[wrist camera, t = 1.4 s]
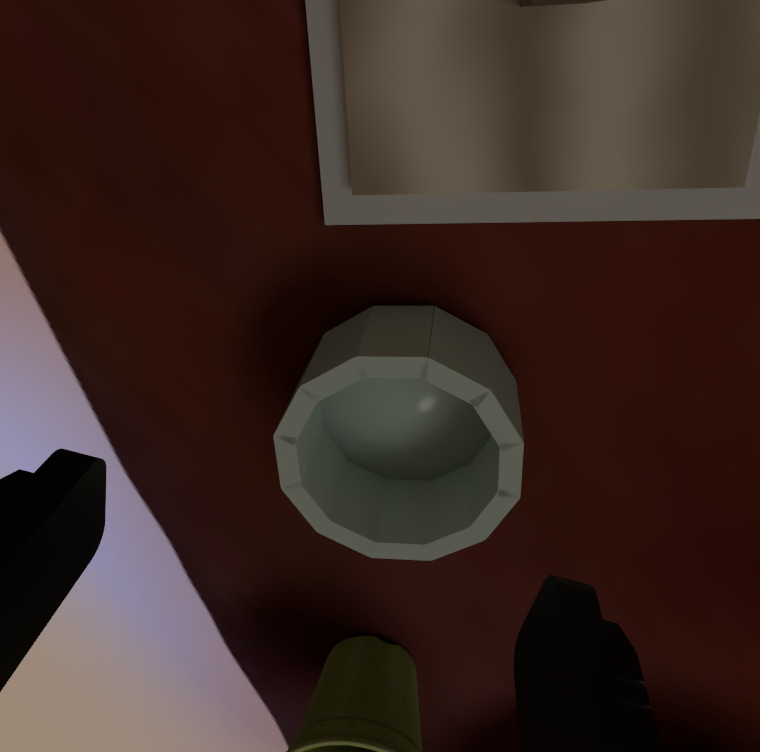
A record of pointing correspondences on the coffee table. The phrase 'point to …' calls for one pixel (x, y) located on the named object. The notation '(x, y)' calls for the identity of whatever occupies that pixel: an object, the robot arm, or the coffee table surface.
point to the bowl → (403, 435)
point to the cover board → (549, 94)
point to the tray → (483, 207)
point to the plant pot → (363, 701)
